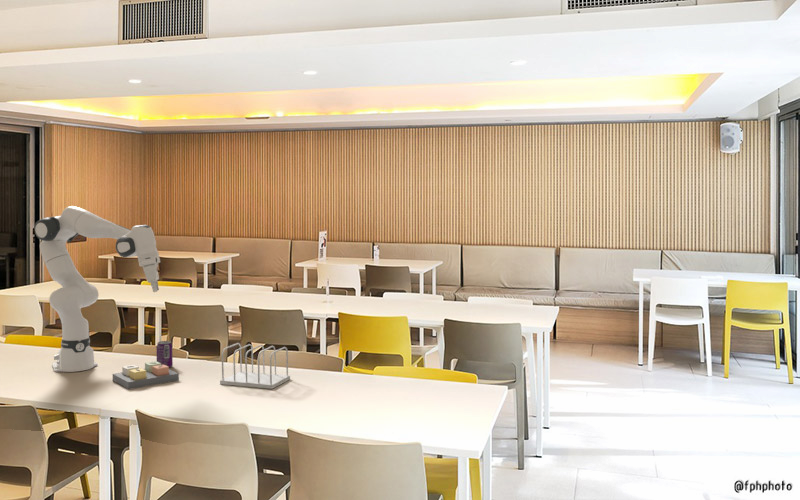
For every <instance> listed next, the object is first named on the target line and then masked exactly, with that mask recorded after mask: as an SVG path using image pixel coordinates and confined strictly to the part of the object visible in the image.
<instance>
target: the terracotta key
mask: <svg viewBox="0 0 800 500" xmlns="http://www.w3.org/2000/svg"><path fill="white" fill-rule="evenodd" d="M169 369H170V368H169V367H168V366H166V365H158V366H152V374H154V375H156V376H160V375H166V374H169Z"/></svg>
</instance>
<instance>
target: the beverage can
mask: <svg viewBox="0 0 800 500" xmlns="http://www.w3.org/2000/svg"><path fill="white" fill-rule="evenodd" d="M156 344H157V345H156V361H157V362H159V363H161V365H166V366H168V367H169V369H170V368H171V367H172V366H173V363H174V362H173V344H172V341H170V340H161V341H157V343H156Z"/></svg>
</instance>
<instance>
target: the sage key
mask: <svg viewBox="0 0 800 500" xmlns="http://www.w3.org/2000/svg"><path fill="white" fill-rule="evenodd" d="M158 365H161V363H159V362H157V360H156V361H150V362H144V369H145V370H146V371H148V372H152V366H158Z"/></svg>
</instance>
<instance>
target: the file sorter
mask: <svg viewBox="0 0 800 500" xmlns="http://www.w3.org/2000/svg"><path fill="white" fill-rule="evenodd" d="M236 346H239V348H238V349H235V350H234V352H233V355H232V356H233V359H232V360H233V362H232V363H233V374H231V375H229V376H227V377H225V378H224V376H225V374H224V371H225V370H224V369H225V368H224V354H225V353H224V352H225V350H227V349H230V348H233V347H236ZM249 346H250V349H249V350H247V351H246V352H245V356H244V360H245V367H244V369H245V371H243V369H242V368H243V362H242V361H243V360H242V359H243V357H242V350H243V349H245V348H247V347H249ZM260 347H262V348H261V349H262V350H261V351H259V353H258V356H257V372H254V350H256V349H259V348H260ZM272 348H273V351H272V352H271V353H270V356H269V373H265V371H266V370H265V367H266V366H265V352H266V351H268V350H270V349H272ZM282 350H285V359H286V360H285V361H286V362H285V363H286V365H285V367H286V374H277V357H276V355H277V354H276V353H278V352H281V351H282ZM238 351H239V361H240V362H239V364H240V365H239V367H240V368H239V369H240V371H238V372H236V353H237V352H238ZM249 353H251V372H249V371H248V359H247V358H248V354H249ZM261 354H262V369H263V370H262V371H263V372H262V373H261V372H260V371H261V370H260V357H261ZM288 354H289V352H288V348H287V347H286V346H283V347H281V348H278V349H276V347H275V345H270V346H268V347H267V348H265V347H264V345H263V344H259V345H256V346H255V347H254V346H253V345H252V344H250V343H248V344H247V345H243V346H242V345H241V343H240V342H236V343H233V344H230V345H229V346H226V347H224V348H223V349H222V352H221V378H222V379H220V381H219V384H220V385H224V386H236V387H238V386H239V387H248V388H249V387H250V388H259V389H267V390H269V389H270V390H272V389H275V388H277V387H278V386H280V385H281V384H284V383H286V382H287V381H289V380H291V375H289V358H288V357H289V355H288ZM272 356H273V357H272ZM272 358H273V361H274V373H272V370H273V369H272V368H273V367H272Z"/></svg>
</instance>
